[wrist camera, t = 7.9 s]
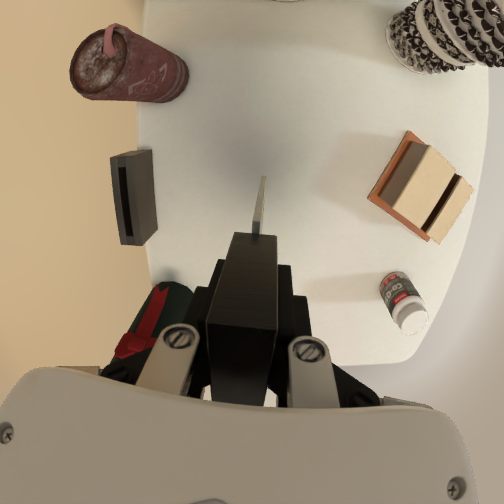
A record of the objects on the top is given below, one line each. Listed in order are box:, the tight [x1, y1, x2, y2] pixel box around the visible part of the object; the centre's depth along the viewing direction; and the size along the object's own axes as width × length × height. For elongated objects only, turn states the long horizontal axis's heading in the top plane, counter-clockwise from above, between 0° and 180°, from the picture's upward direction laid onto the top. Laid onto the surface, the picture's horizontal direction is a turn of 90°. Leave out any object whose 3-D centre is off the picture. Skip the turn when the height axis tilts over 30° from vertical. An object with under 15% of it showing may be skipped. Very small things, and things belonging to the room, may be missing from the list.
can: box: [69, 23, 189, 103], centre depth 19 cm, size 6×6×14 cm
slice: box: [420, 173, 474, 245], centre depth 26 cm, size 8×3×5 cm, turn 153°
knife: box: [206, 176, 278, 407], centre depth 13 cm, size 7×2×13 cm, turn 176°
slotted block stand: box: [368, 131, 456, 242], centre depth 27 cm, size 10×11×6 cm
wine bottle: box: [111, 282, 194, 363], centre depth 26 cm, size 8×10×30 cm
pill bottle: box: [380, 272, 429, 335], centre depth 32 cm, size 5×5×8 cm
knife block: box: [110, 150, 158, 246], centre depth 30 cm, size 10×3×5 cm, turn 178°
